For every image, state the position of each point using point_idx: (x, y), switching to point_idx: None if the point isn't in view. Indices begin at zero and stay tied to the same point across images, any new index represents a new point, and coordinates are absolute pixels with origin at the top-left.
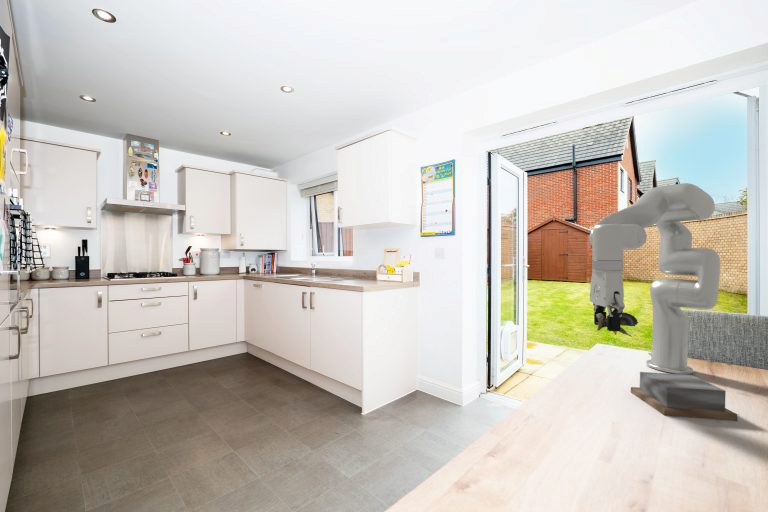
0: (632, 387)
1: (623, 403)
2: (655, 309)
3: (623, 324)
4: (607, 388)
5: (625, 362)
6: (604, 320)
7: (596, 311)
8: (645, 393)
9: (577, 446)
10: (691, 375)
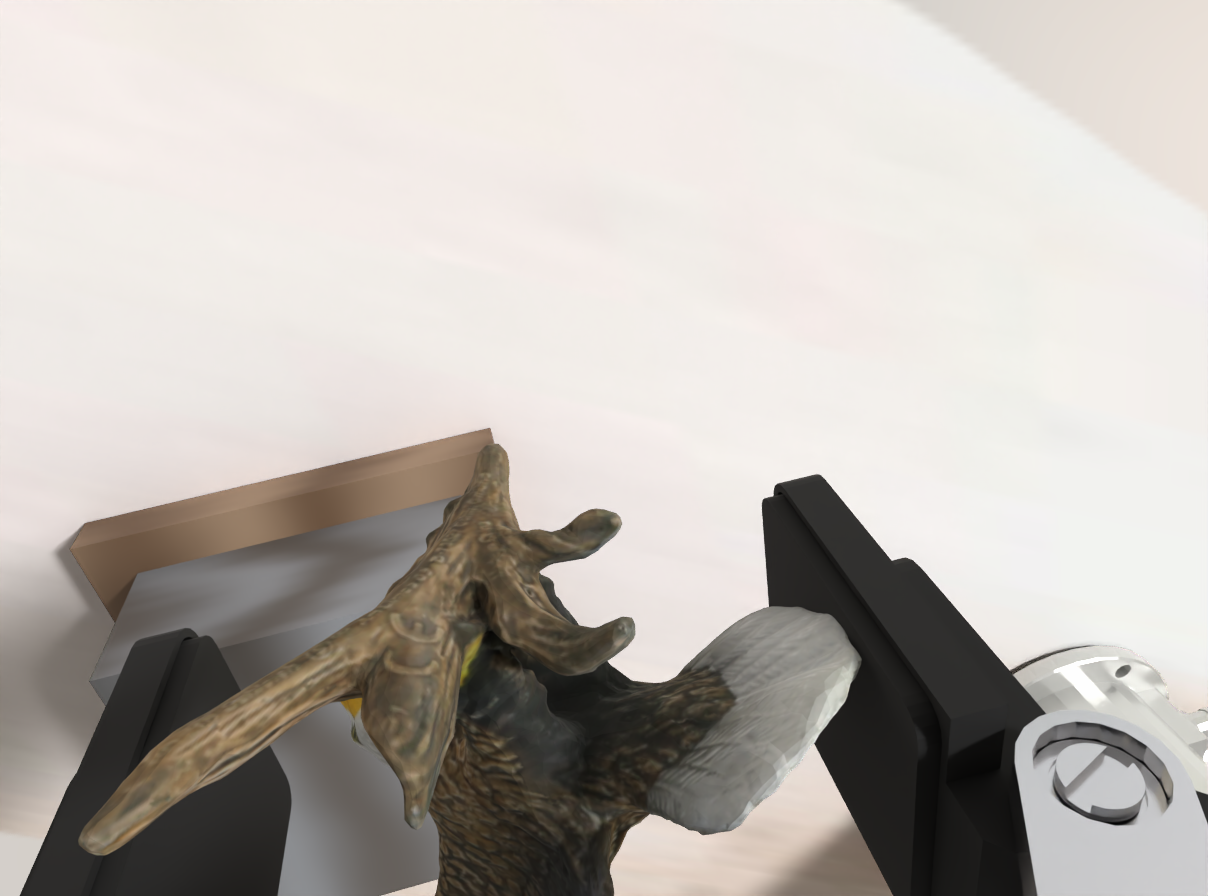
0: None
1: (176, 313)
2: None
3: None
4: (510, 274)
5: (1162, 541)
6: (494, 738)
7: (1037, 754)
8: (380, 511)
9: None
10: None
